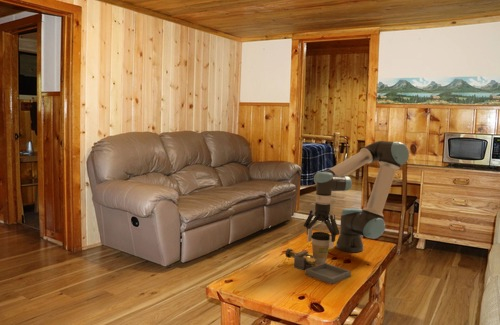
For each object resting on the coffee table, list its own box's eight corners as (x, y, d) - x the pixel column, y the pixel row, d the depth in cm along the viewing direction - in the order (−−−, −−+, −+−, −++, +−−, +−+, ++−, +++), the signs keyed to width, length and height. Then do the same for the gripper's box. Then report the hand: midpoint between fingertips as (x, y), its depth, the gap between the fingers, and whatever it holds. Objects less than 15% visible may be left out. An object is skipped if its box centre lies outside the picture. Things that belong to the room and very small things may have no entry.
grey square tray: (324, 267, 201) (324, 262, 201) (350, 276, 191) (351, 271, 190) (305, 274, 191) (305, 269, 191) (332, 284, 180) (332, 279, 180)
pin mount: (302, 264, 205) (303, 250, 204) (312, 267, 200) (313, 253, 200) (293, 267, 200) (294, 252, 199) (303, 270, 195) (304, 256, 195)
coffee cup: (329, 267, 202) (331, 237, 200) (309, 265, 204) (310, 235, 202) (329, 260, 211) (331, 232, 210) (310, 258, 213) (311, 230, 212)
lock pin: (290, 256, 208) (291, 247, 208) (316, 265, 197) (317, 256, 196) (285, 258, 205) (285, 249, 205) (310, 267, 194) (311, 258, 193)
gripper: (298, 199, 211) (296, 239, 213) (339, 208, 193) (336, 252, 195) (307, 198, 216) (305, 237, 218) (348, 206, 198) (345, 249, 200)
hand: (319, 244), depth 206 cm, fingers open, 13 cm apart
